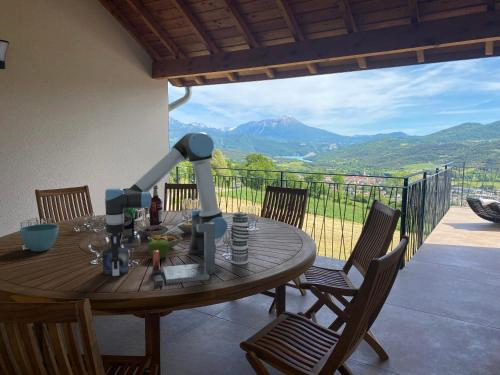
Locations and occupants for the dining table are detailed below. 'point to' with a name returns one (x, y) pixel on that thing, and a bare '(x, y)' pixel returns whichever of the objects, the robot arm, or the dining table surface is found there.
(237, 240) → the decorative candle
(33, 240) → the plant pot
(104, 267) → the small box
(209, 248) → the press
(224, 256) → the dining table surface
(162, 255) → the apple
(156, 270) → the lever
